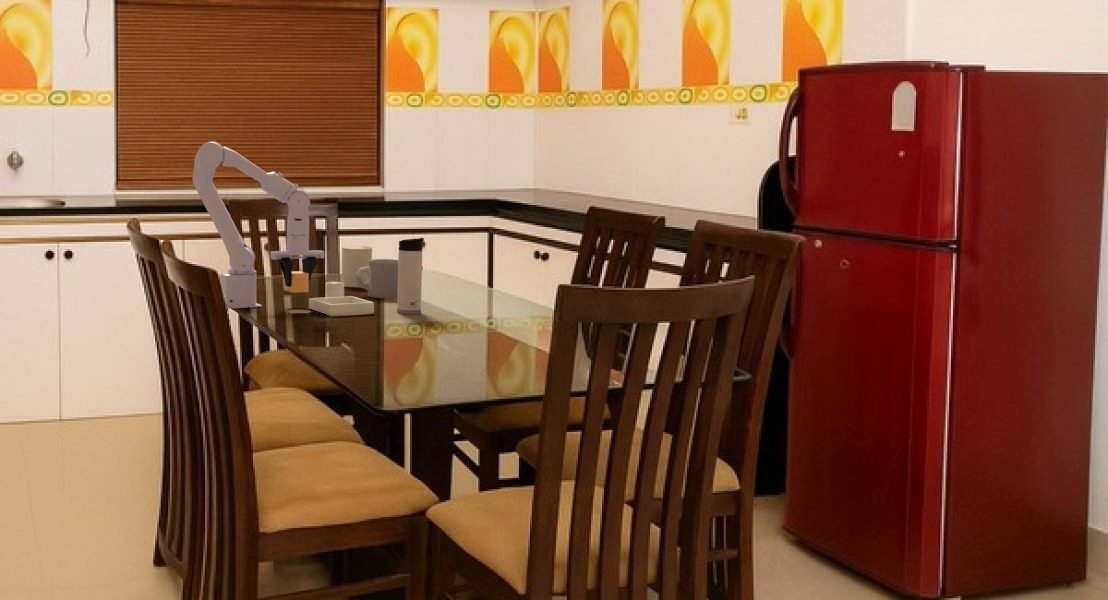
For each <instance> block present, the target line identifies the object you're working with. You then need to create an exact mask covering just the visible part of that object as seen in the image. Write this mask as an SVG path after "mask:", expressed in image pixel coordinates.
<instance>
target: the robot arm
mask: <svg viewBox="0 0 1108 600" xmlns="http://www.w3.org/2000/svg"><path fill="white" fill-rule="evenodd" d="M222 162H223V163H222ZM221 163H222V167H230V168H231V167H232V168H236V169H237V170H238V171H240V172H242V173H244V174H246V175H247V176H249V177H250V178H252V179H254V180H255V181H257V182H259V183H260V185H261V190H262V191H263V192H265V193H266V194H268V195H270V196H272V198H274V199H276V200H277V201H279V202H280V203H282V204H285V203H286V204H287V207H288V216H287V220H286V224H287V225H286V226H287V227H286V232H287V233H286V250H276V251H275V250H274V251H270V260H273V261H275V260H276V261H277V264H278V266H279V267H280V270H281V272H282V275H283V276H282V277H283V280H284V284H285V287H286V286H288V287H290V286H291V274H292V272H293V267H294V261H292V259H299V260H300V259H301V265H302V272H306V273H309V283H310V281H311V277H312V275H313V273H314V270H315V268H316V266H317V264H318V262H319V259H325V251H324V250H313V249H312V250H309V249H310V248H309V247H310V217H309V216H310V211H309V207H310V205H311V201H310V195H309V194H308V192H306V191H305V190H304V189H303V188H301V187H300V188H299V184H297V183H295V184H294V183H292V182H291V181H289V180H288V179H286V178H285V177H284V174H283V173H281V172H278V173H277V172H276V171H271V172H267V171H265V170H264V169H262V168H260V167H259V166H257V165H256V164H254V163H253V162H251V161H250V160H249V159H247V158H246V157H245V156H243V155H242V154H240V153H239V152H237V151H235V150H233V149H232V148H229V147H228V146H223V145H222V144H220V143H219V142H217V141H207V142H205V143H203V144H202V145H201V146H200V147H199V148H198V151H197V152H196V154H195V156H194V166H193V172H192V184H193V187H194V188H195V190H196V192H197V194H198V195H199V197H200V199H201V202H202V203H203V205H204V207H205V209H206V211H207V213H208V214H209V217H210V218H211V220H212V222H213V225H214V226H215V229H216V230H217V232H218V234H219V236H220V238H221V240H222V242H223V244H224V247H225V249H226V252H227V253H228V256H229V265H230V269H228V271H227V272H228V273H221V274H220V275H219V277H220V279H221V284H222V288H223V291H224V295H225V299H226V303H227V308H226V309H230V310H231V309H247V308H248V307H249V308H262V307H263V305H262V304H260V303H257V270H256V269H254V265H255V261H256V255H255V251H253V249H252V248H251V247H250V246H248V245H247V244H246V242H245V240H244V238H243V237H242V235H241V234H240V232H239V230H238V228H237V226H236V224H235V223H234V221H233V219H232V216H231V215H230V213H229V211H228V209H227V207H226V205H225V202H224V201H223V199H222V197H221V195H220V194H219V193H220V192H218V190H217V188H216V186H215V184H214V181H213V179H214V176H215V174H216V170H217V168H218V167H219V166H220V165H221Z"/></svg>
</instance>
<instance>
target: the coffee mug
mask: <svg viewBox="0 0 1108 600" xmlns="http://www.w3.org/2000/svg"><path fill="white" fill-rule="evenodd" d="M368 265H369V267H363V268H360V269H359V270H358V272H357V275H356V280H357V283H358V285H359V286H360V287H359V288H362V289H364V290H365V291H367V296H368V297H371V298H376V299H377V298H379V299H396V298H397V297H398V259H391V258H386V259H385V258H382V259H381V258H379V259H378V258H377V259H375V258H374V259H373V258H372V260H369V261H368ZM364 272H367V274H368V280H367V282H366V283H363V282H362V281H361V276H362V274H363V273H364Z"/></svg>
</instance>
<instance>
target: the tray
mask: <svg viewBox="0 0 1108 600" xmlns="http://www.w3.org/2000/svg"><path fill="white" fill-rule="evenodd" d="M309 309H312V310H315V311H318V312H321V313H324V314H327V315H329V316H328V317H341V316H343V317H346V316H358V315H359V316H361V315H362V316H363V315H372V314H373V315H374V314H375V302H373V301H370V300H366V299H363V298H359V297H357V296H353V295H349V296H347V295H346V296H345V295H344V297H326V298H325V297H310V298H309V297H308V310H309ZM315 311H314V312H315ZM318 312H317V313H318ZM321 313H320V314H321ZM324 314H323V315H324ZM327 315H326V316H327Z"/></svg>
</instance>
